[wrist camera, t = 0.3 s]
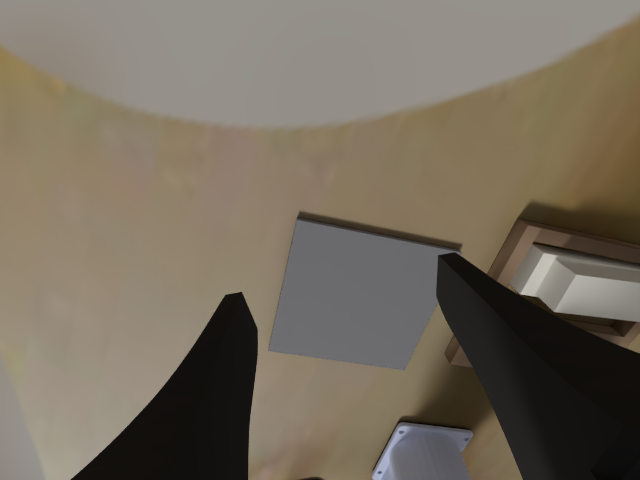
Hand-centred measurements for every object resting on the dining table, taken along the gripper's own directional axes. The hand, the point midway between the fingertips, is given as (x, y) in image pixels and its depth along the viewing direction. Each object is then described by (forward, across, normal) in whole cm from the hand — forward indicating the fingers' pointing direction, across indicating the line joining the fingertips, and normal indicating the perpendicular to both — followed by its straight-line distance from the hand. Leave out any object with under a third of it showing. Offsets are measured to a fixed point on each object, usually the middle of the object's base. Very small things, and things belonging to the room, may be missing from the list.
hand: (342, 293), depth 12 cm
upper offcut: (+7, -18, +11) cm, 22 cm away
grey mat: (+9, -1, +10) cm, 14 cm away
